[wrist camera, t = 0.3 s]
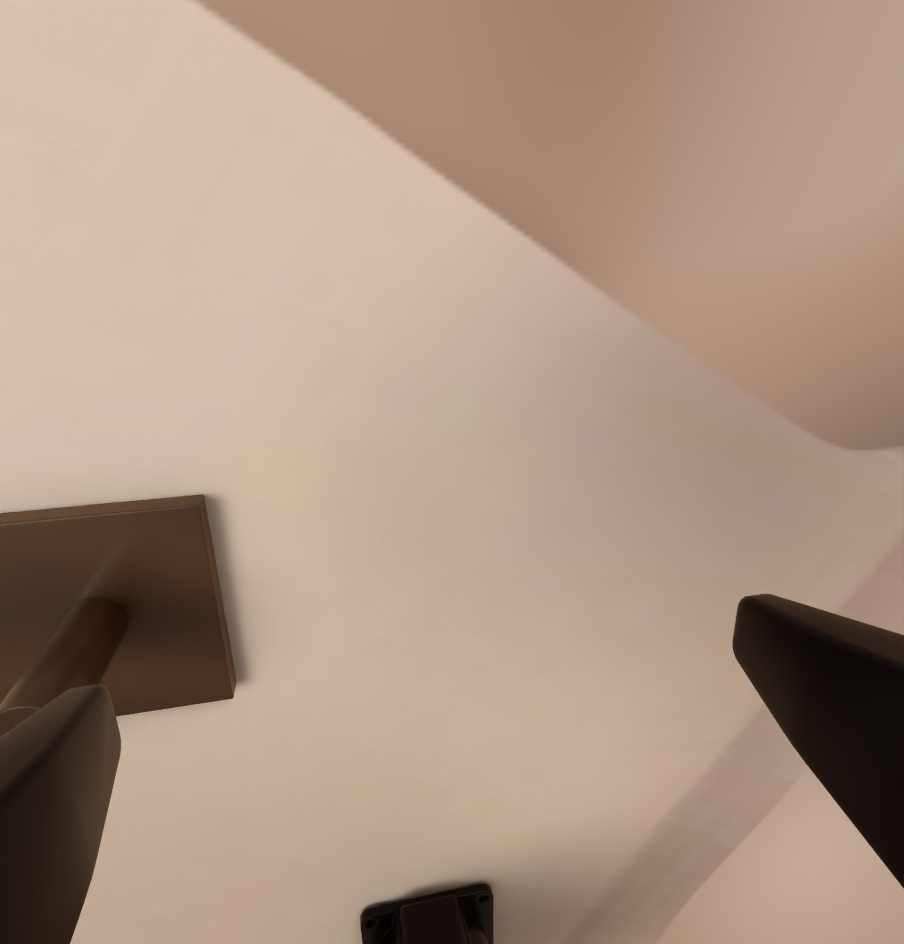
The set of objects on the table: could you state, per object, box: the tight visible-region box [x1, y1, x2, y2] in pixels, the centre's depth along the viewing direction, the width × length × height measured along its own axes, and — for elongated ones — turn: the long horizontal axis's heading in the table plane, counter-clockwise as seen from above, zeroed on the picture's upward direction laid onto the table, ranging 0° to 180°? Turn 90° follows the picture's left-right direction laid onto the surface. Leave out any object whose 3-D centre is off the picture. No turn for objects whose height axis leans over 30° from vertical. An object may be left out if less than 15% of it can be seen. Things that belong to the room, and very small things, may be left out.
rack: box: [0, 495, 236, 737], centre depth 19 cm, size 8×8×6 cm
